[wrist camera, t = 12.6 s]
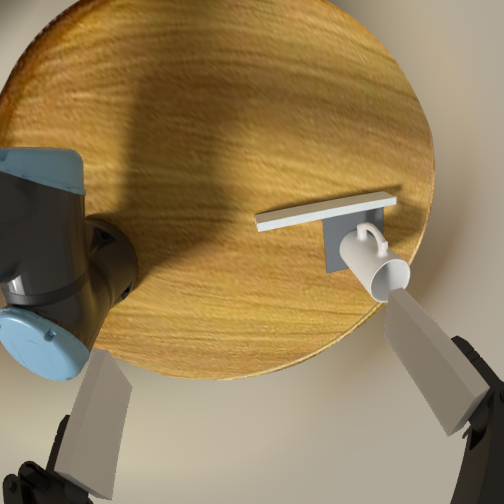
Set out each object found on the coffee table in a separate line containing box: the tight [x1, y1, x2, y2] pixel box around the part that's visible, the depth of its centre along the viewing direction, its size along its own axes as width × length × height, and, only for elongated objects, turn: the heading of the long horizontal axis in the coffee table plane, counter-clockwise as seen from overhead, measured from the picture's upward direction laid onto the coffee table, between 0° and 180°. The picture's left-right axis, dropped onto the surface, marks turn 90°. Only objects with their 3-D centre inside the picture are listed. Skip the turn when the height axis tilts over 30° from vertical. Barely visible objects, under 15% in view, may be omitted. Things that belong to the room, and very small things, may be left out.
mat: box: [322, 207, 383, 274], centre depth 46 cm, size 11×11×1 cm
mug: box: [340, 222, 410, 302], centre depth 40 cm, size 10×7×12 cm, turn 16°
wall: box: [254, 191, 396, 232], centre depth 41 cm, size 22×1×4 cm, turn 101°
